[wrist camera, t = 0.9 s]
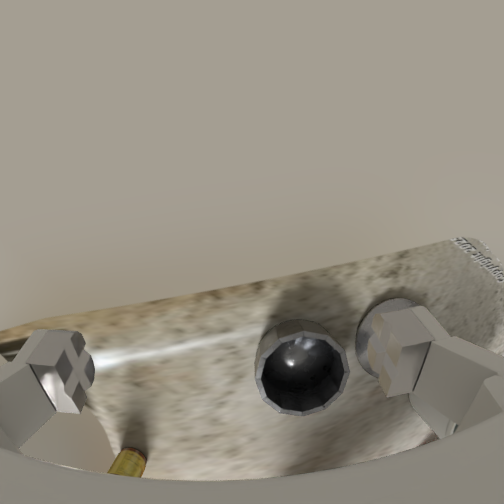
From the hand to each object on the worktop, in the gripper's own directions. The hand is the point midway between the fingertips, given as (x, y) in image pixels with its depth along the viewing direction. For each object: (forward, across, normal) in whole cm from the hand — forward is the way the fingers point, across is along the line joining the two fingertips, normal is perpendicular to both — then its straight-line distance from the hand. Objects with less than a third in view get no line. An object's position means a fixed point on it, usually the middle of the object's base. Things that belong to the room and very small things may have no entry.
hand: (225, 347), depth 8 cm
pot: (+35, +9, -33) cm, 49 cm away
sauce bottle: (+28, -25, -54) cm, 66 cm away
